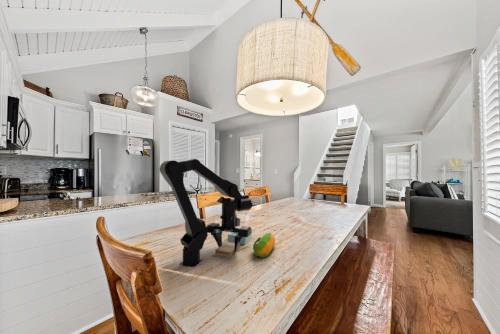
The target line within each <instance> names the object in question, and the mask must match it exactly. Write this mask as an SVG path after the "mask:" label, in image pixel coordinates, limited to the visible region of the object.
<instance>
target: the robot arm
mask: <svg viewBox="0 0 500 334" xmlns="http://www.w3.org/2000/svg"><path fill="white" fill-rule="evenodd" d="M190 171H192V172H194V173H195V174H197V175H198V176H200V177H201V178H203V179H204V180H205V181H207V182H208V183H210V184H211V185H212V186H214V188H215V189H216V190H217V192H219V194H221V195H222V196H220V197H219V199H217V200H216V202H217V203H219V204H221V215H220V216H219V218H220V219H221V225H220V223H219V222H218V223H217V222H211V223H208V224H207V225H206V222H205V220H203V219H201V218H200V217H197V214H196V212H195V209H194V207H193V204H192V201H191V198H190V196H189V194H188V192H187V191H188V190H187V189H186V186H185V183H184V173H187V172H190ZM159 173H160V174H161V175H162V177H163V178H164V180H165V181H166V182H167V184H168V186H170V188H171V190H172V192H173V195H174V198H175V200H176V202H177V205H178V207H179V210H180V211H181V215H182V216H183V219H184V228H185V233H184V234H183V236H182V237H181V238H180V239H179V240H180V244H181V245H182V246H183V249H182V261H181V262H180V263H179V266H184V267H190V268H196V267H197V266H199V264H200V263H202V262H203V261H204V259H203V258H201V250H202V249H203V247H204V244H205V241H206V240H207V238H208V237H209V234H210V236H212V237H213V239H214V240H215V243H216V244H217V246H218V248H219V247H221V246H222V245H223V238H222V237H223V233H224V232H227V233H231V232H234V233H237V235H236V236H235V253H236V252H237V251H238V250H239V249H238V246H239V243H240V240H241V239H242V238H243V237H248V236H249V235H250V234H251V233H252V232H253V231H252V230H253V229H252V227H251V226H249V225H248V226H246V225H242V226H241V218H239V217H237V213H236V212H243V211H250V210H251V209H252V207H253V202H252V200H251V198H250V195H249V194H241V192H240V191H239V188H238V185H237V184H236V183H235V182H232V181H230V180H229V179H228V180H227V179H225V178H224V177H221V176H219V174H217V173H216V172H214V170H212V169H211V168H209V167H207V166H206V165H205V164H204V163H202V162H201V161H200V160H199V159H197V158H191V159H187V160H180V161H177V160H173V159H172V160H165V161H163V162H162V163H161V164H160V166H159ZM224 196H225V197H224ZM237 249H238V250H237Z"/></svg>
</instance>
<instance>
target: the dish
mask: <svg viewBox="0 0 500 334" xmlns="http://www.w3.org/2000/svg"><path fill="white" fill-rule="evenodd" d="M236 235H237V233H234V232H228V234H227V242H231V243H235V236H236ZM252 236H253V235H252V233H251V234H250V235H249V236H248V237H243V238H242V239H241V240H240V243H239V244H240V245H244V246H246V245H247V244H248V243H249V241H250V240H252Z"/></svg>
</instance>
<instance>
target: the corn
mask: <svg viewBox="0 0 500 334" xmlns="http://www.w3.org/2000/svg"><path fill="white" fill-rule="evenodd" d="M275 243H276V238H275V235H273V234H272V233H271V232H268V233H265V234H264V235H262V236H260V237H258V238H257V239H256V240H254V242H253V246H252V250H253V253H254V255H255V256H256V257H260V259H261V258H266V257H268V256H269V255H270V254H271V252H273V251H274V249H275Z"/></svg>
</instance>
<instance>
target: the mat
mask: <svg viewBox="0 0 500 334" xmlns="http://www.w3.org/2000/svg"><path fill="white" fill-rule="evenodd" d="M213 257H216V258H218V255H213ZM219 258H221V259H224V256H219ZM225 259H228V260H231V257H225Z"/></svg>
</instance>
